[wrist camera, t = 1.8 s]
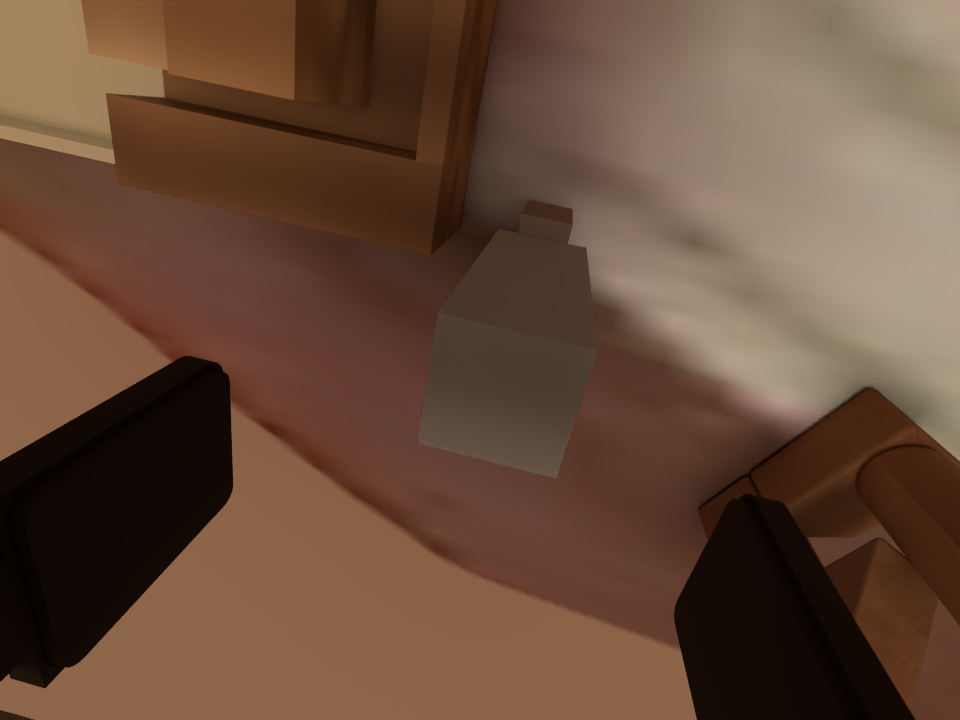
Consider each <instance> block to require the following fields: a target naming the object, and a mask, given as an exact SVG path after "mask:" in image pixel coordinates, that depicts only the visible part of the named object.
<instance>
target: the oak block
mask: <svg viewBox="0 0 960 720" xmlns="http://www.w3.org/2000/svg"><path fill="white" fill-rule="evenodd" d="M162 4H163V16H164V28H165V40H166V52H167V64H168V74H172V75H177V76H181V77H186V78H191V79H196V80H200V81H205V82H210V83H215V84H219V85H224V86H229V87H233V88H238V89H243V90H248V91H252V92H257V93H262V94H266V95H271V96H276V97H281V98H285V99H290V100H296V101H306V102H316V103H327V104H337V105H348V106H358V107H368V108H369V98H370V85H371V71H372V58H373V45H374V32H375V18H376V5H377V0H162Z"/></svg>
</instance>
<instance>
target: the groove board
mask: <svg viewBox="0 0 960 720" xmlns="http://www.w3.org/2000/svg"><path fill="white" fill-rule="evenodd" d="M496 3H497V0H377V5H376V18H375V32H374V45H373V58H372V71H371V85H370V98H369V108H368V107H358V106H348V105H337V104H327V103H316V102H306V101H296V100H290V99H285V98H281V97H276V96H271V95H266V94H262V93H257V92H252V91H248V90H243V89H238V88H233V87H229V86H224V85H219V84H215V83H210V82H205V81H200V80H196V79H191V78H186V77H181V76H177V75H172V74H168V70H164V69H162V73H163V84H164V96H165V97H151V96H137V95H124V94H110V93H106V100H107V107H108V114H109V122H110V129H111V136H112V144H113V151H114V159H115V166H116V173H117V181H118V184H122V185H126V186H130V187H135V188H139V189H143V190H148V191H152V192H156V193H161V194H165V195H169V196H174V197H178V198H182V199H187V200H191V201H195V202H200V203H204V204H208V205H213V206H217V207H222V208H226V209H230V210H235V211H239V212H243V213H248V214H252V215H256V216H261V217H265V218H269V219H274V220H278V221H282V222H287V223H291V224H295V225H300V226H304V227H308V228H313V229H317V230H321V231H326V232H330V233H334V234H339V235H343V236H348V237H352V238H356V239H361V240H365V241H369V242H374V243H378V244H382V245H387V246H391V247H395V248H400V249H404V250H408V251H413V252H417V253H421V254H426V255H431V254H432V253H433V252H435V251H436V250H437V249H438V248H439V247H440V246H441V245H442V244H443V243H445V242H446V241H447V240H448V239H449V238H450V237H451V236H452V235H453V234H455V233H456V232H457V231H458V230H459V228H460V222H461V216H462V210H463V204H464V198H465V192H466V186H467V180H468V174H469V168H470V162H471V155H472V149H473V143H474V137H475V131H476V125H477V119H478V113H479V107H480V101H481V95H482V89H483V82H484V76H485V70H486V64H487V58H488V52H489V46H490V40H491V34H492V28H493V22H494V16H495V9H496Z"/></svg>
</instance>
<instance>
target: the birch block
mask: <svg viewBox="0 0 960 720" xmlns="http://www.w3.org/2000/svg"><path fill="white" fill-rule="evenodd" d="M81 2H82V9H83V16H84V22H85V29H86V36H87V43H88V50H89V54H93V55H98V56H103V57H108V58H112V59H117V60H122V61H127V62H131V63H136V64H141V65H146V66H150V67H155V68H160V69H164V70H168V64H167V52H166V40H165V28H164V16H163V4H162V0H81Z"/></svg>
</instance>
